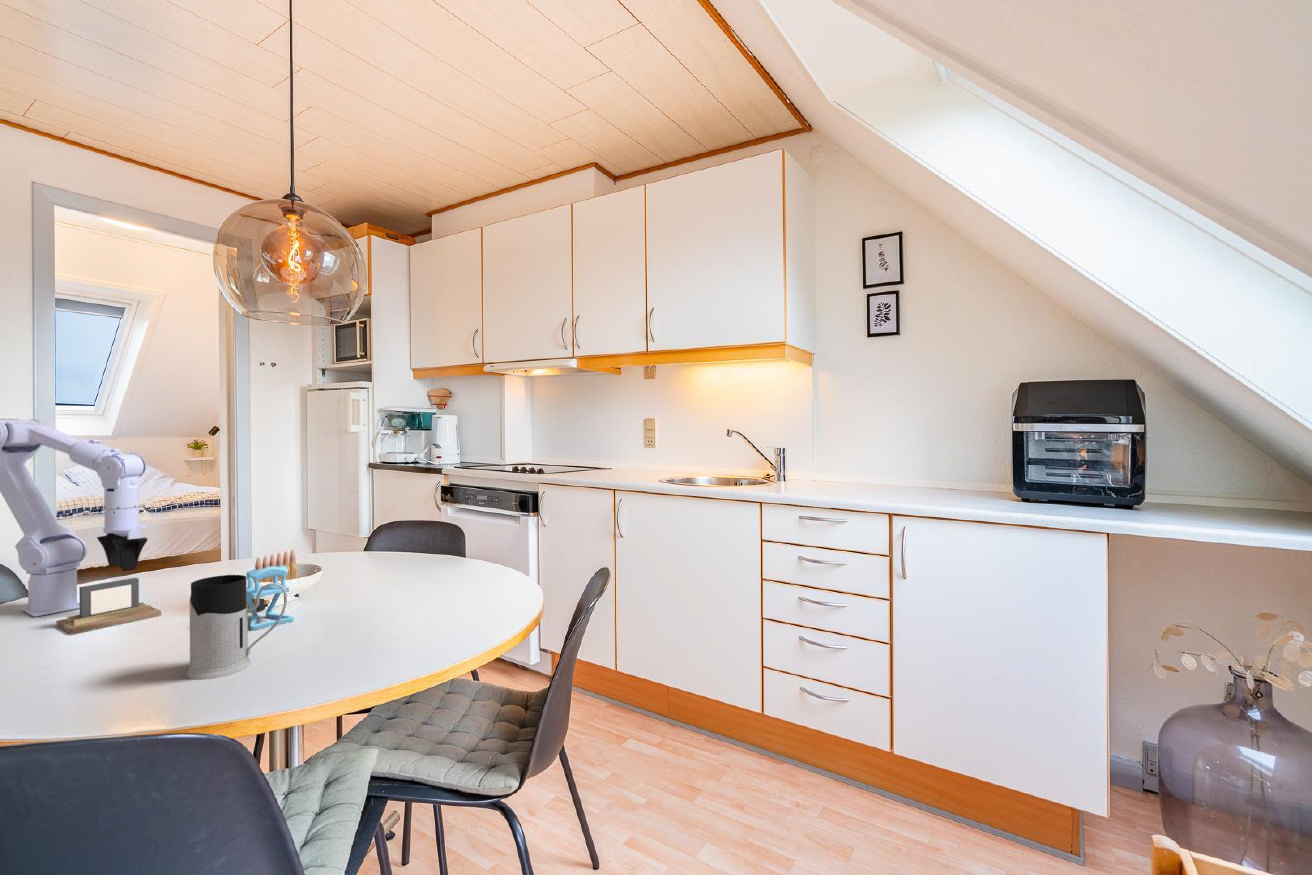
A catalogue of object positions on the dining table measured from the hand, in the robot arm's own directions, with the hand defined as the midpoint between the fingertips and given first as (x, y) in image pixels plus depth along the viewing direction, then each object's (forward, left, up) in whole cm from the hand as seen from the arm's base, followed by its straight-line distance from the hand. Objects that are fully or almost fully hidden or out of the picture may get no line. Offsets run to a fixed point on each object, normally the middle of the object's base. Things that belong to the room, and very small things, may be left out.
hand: (122, 568), depth 129 cm
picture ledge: (+7, -4, -9) cm, 12 cm away
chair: (+36, +13, -10) cm, 39 cm away
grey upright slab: (+7, -4, -8) cm, 12 cm away
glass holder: (+57, -1, -10) cm, 58 cm away
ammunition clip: (+25, +20, -10) cm, 33 cm away
